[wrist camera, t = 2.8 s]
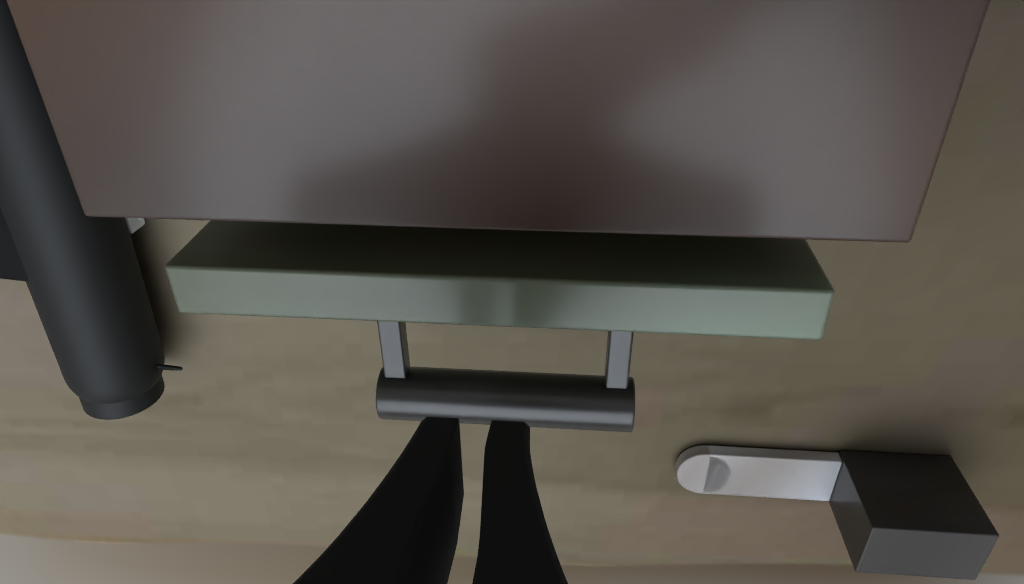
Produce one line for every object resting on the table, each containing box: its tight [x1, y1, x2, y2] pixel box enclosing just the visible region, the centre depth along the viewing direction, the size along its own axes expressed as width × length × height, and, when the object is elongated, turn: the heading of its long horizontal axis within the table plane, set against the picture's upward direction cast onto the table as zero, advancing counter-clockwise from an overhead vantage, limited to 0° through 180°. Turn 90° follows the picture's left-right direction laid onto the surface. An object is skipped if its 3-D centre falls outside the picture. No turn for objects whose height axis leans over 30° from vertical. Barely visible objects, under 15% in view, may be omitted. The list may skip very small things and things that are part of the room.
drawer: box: [166, 220, 834, 432], centre depth 15 cm, size 19×13×6 cm
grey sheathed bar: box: [675, 445, 999, 580], centre depth 24 cm, size 9×2×3 cm, turn 90°
